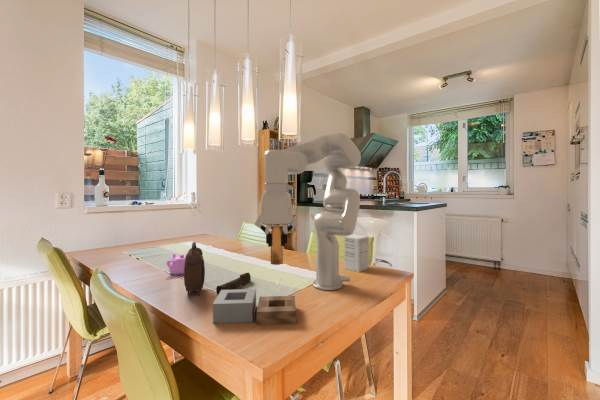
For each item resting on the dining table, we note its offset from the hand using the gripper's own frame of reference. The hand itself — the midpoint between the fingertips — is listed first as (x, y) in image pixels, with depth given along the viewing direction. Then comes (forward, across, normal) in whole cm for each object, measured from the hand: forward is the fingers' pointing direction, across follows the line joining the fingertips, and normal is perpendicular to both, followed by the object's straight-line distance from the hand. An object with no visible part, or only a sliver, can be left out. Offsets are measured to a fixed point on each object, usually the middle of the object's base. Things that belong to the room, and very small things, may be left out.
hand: (276, 245), depth 91 cm
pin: (+6, 0, 0) cm, 6 cm away
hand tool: (+24, +18, -27) cm, 40 cm away
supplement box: (+24, -40, -51) cm, 69 cm away
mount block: (+23, 0, 0) cm, 23 cm away
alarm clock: (+23, +33, -23) cm, 46 cm away
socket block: (+23, +14, -2) cm, 27 cm away
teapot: (+23, +48, -51) cm, 74 cm away
